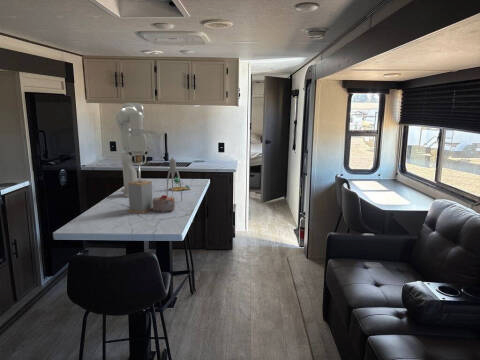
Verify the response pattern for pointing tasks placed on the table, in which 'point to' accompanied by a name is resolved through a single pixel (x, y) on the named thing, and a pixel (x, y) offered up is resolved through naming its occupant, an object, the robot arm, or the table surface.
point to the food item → (163, 204)
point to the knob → (138, 161)
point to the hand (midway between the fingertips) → (138, 162)
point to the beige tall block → (140, 196)
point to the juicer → (172, 168)
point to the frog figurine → (177, 181)
